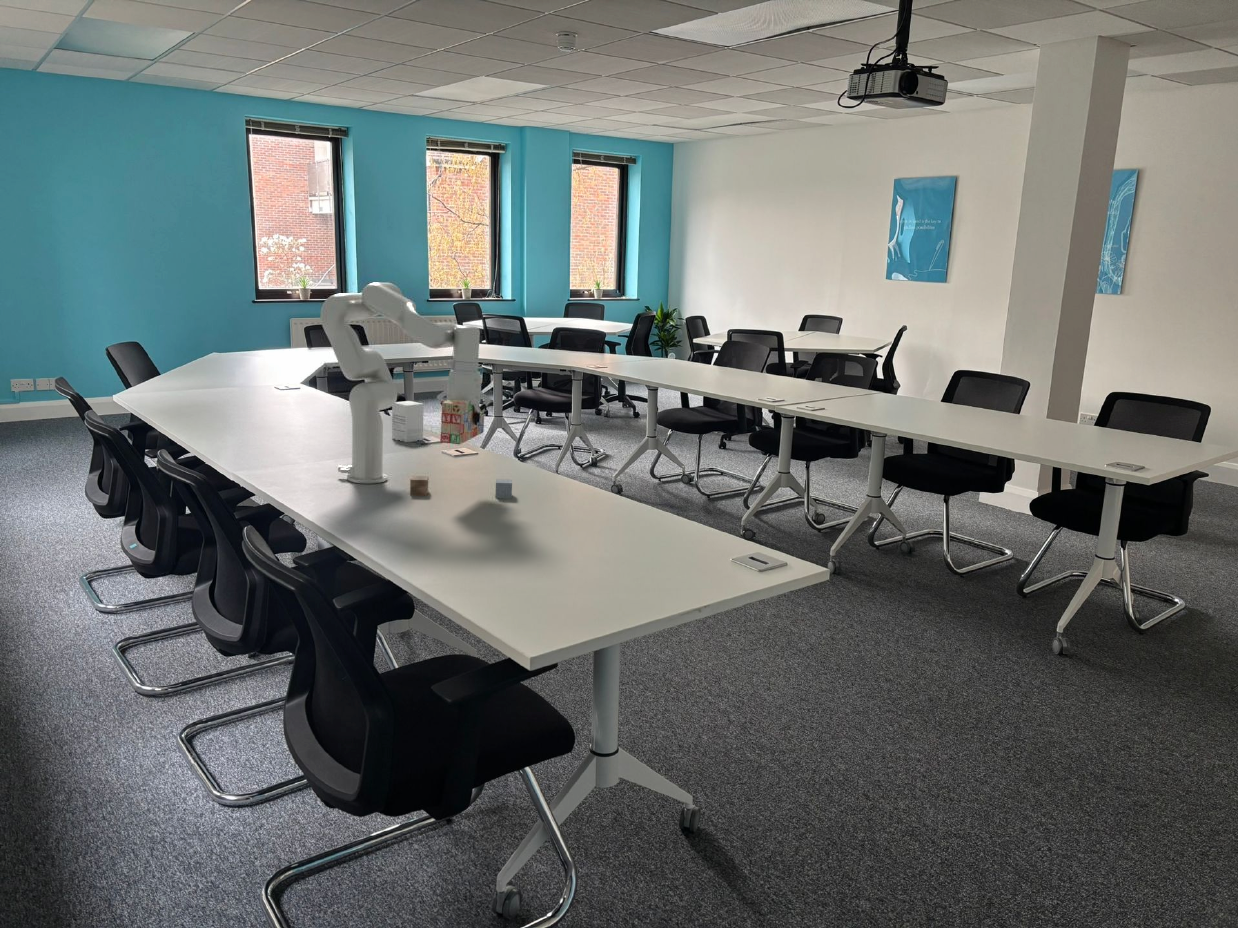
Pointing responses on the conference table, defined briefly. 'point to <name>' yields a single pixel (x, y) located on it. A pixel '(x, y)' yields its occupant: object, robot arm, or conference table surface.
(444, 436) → the stack of blocks
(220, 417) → the conference table surface
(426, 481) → the walnut cube
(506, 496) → the slate cube
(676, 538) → the conference table surface
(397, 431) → the supplement box
